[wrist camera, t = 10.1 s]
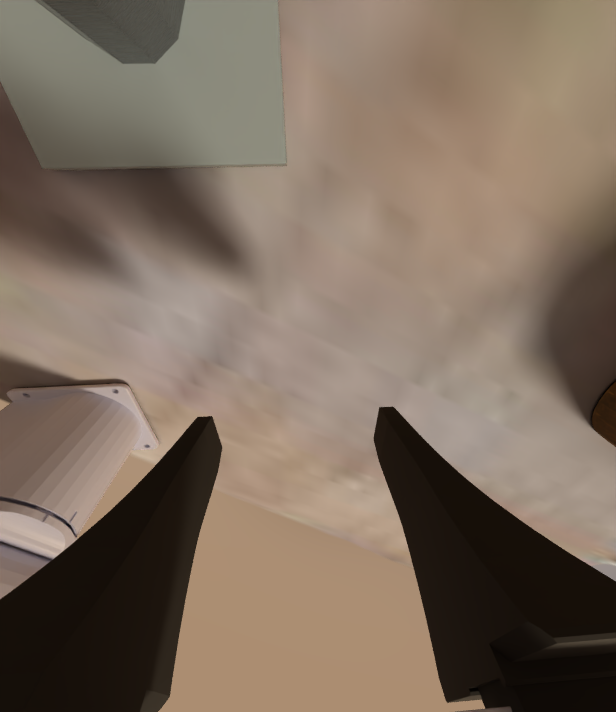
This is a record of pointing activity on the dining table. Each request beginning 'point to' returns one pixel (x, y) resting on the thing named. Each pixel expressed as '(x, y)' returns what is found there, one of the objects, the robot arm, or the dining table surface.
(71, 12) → the tube
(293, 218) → the dining table surface
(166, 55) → the shaft plate
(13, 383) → the dining table surface
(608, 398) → the wooden container
